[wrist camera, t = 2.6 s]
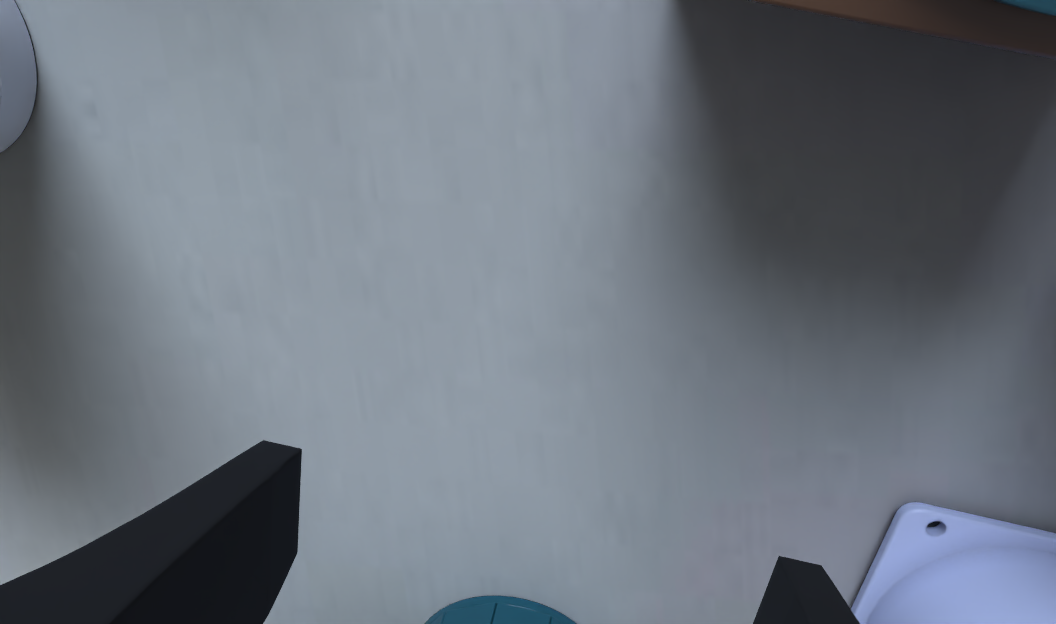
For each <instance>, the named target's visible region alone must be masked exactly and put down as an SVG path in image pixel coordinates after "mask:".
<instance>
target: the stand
mask: <svg viewBox="0 0 1056 624" xmlns="http://www.w3.org/2000/svg"><path fill="white" fill-rule="evenodd" d="M748 1H753V2H758V3H763V4H768V5H774V6H779V7H784V8H789V9H794V10H800V11H805V12H810V13H815V14H820V15H826V16H831V17H836V18H841V19H846V20H852V21H857V22H862V23H867V24H872V25H878V26H883V27H888V28H893V29H899V30H904V31H909V32H914V33H919V34H925V35H930V36H935V37H940V38H945V39H951V40H956V41H961V42H966V43H971V44H977V45H982V46H987V47H992V48H997V49H1003V50H1008V51H1013V52H1018V53H1023V54H1029V55H1034V56H1039V57H1044V58H1049V59H1055V60H1056V16H1053V15H1047V14H1042V13H1037V12H1033V11H1029V10H1026V9H1022V8H1018V7H1014V6H1010V5H1007V4H1003V3H999V2H996V1H994V0H748Z"/></svg>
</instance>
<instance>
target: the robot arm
mask: <svg viewBox="0 0 1056 624" xmlns="http://www.w3.org/2000/svg"><path fill="white" fill-rule="evenodd" d="M301 454H302V449H300V448H295V447H291V446H286V445H282V444H277V443H273V442H268V441H264V440H263V441H261V442H260V443H258V444H256V445H255V446H253V447H251V448H250V449H248V450H247V451H245V452H243V453H242V454H240V455H238V456H237V457H235V458H234V459H232V460H230V461H229V462H227V463H226V464H224V465H222V466H221V467H219V468H218V469H216V470H214V471H213V472H211V473H210V474H208V475H206V476H205V477H203V478H202V479H200V480H198V481H197V482H195V483H194V484H192V485H190V486H189V487H187V488H186V489H184V490H182V491H181V492H179V493H177V494H176V495H174V496H172V497H171V498H169V499H167V500H166V501H164V502H162V503H161V504H159V505H157V506H155V507H154V508H152V509H150V510H149V511H147V512H145V513H144V514H142V515H140V516H138V517H137V518H135V519H133V520H131V521H129V522H127V523H126V524H124V525H122V526H120V527H118V528H116V529H115V530H113V531H111V532H109V533H107V534H105V535H104V536H102V537H100V538H98V539H96V540H94V541H93V542H91V543H89V544H87V545H85V546H83V547H81V548H79V549H77V550H75V551H74V552H72V553H70V554H68V555H66V556H63V557H61V558H59V559H57V560H55V561H53V562H51V563H49V564H47V565H45V566H43V567H40V568H38V569H36V570H34V571H31V572H29V573H27V574H25V575H23V576H20V577H18V578H16V579H14V580H11V581H9V582H7V583H5V584H2V585H0V624H263V622H264V621H265V619H266V618H267V616H268V614H269V612H270V610H271V608H272V606H273V604H274V602H275V600H276V598H277V596H278V594H279V592H280V590H281V588H282V585H283V583H284V581H285V579H286V577H287V574H288V572H289V570H290V568H291V566H292V563H293V561H294V559H295V557H296V555H297V548H298V524H299V501H300V477H301ZM934 521H940V522H941V523H940V524H939V525H937V526H935V527H927V525H928V524H929V523H931V522H934ZM753 624H1056V533H1053V532H1049V531H1044V530H1040V529H1035V528H1031V527H1027V526H1022V525H1018V524H1013V523H1009V522H1005V521H1000V520H996V519H991V518H987V517H983V516H978V515H974V514H969V513H965V512H960V511H956V510H952V509H947V508H943V507H938V506H934V505H930V504H925V503H921V502H911V503H907V504H905V505H903V506H902V507H900V508H899V509H898V511H897V512H896V514H895V516H894V518H893V520H892V522H891V524H890V527H889V529H888V531H887V533H886V535H885V537H884V539H883V541H882V544H881V546H880V548H879V550H878V552H877V554H876V556H875V559H874V561H873V563H872V565H871V567H870V569H869V571H868V573H867V576H866V578H865V580H864V582H863V584H862V586H861V588H860V591H859V593H858V595H857V597H856V599H855V601H854V603H853V605H852V608H851V609H850V608H849V606H848V605H847V603H846V602H845V600H844V599H843V597H842V596H841V594H840V593H839V591H838V590H837V588H836V586H835V585H834V583H833V582H832V580H831V579H830V578H829V576H828V575H827V573H826V572H825V570H824V569H823V567H822V566H821V565H817V564H812V563H808V562H803V561H799V560H794V559H790V558H786V557H781V556H779V557H778V560H777V562H776V565H775V568H774V570H773V573H772V575H771V578H770V581H769V583H768V586H767V588H766V591H765V594H764V596H763V599H762V602H761V604H760V607H759V609H758V612H757V615H756V617H755V620H754V622H753Z"/></svg>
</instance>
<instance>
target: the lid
mask: <svg viewBox="0 0 1056 624" xmlns="http://www.w3.org/2000/svg"><path fill="white" fill-rule="evenodd" d="M994 1H996V2H999V3H1003V4H1007V5H1010V6H1014V7H1018V8H1022V9H1026V10H1029V11H1033V12H1037V13H1042V14H1047V15H1053V16H1056V0H994Z"/></svg>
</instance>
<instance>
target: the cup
mask: <svg viewBox="0 0 1056 624" xmlns="http://www.w3.org/2000/svg"><path fill="white" fill-rule="evenodd" d="M36 86H37V75H36V63H35V56H34V51H33V47H32V43H31V39H30V36H29V33H28V30H27V27H26V25H25V22H24V20H23V17H22V15H21V13H20V11H19V9H18V7H17V5H16V3H15V1H14V0H0V153H1V152H3V151H4V150H5V149H7V148H8V147H9V146H11V145H12V144H13V143H14V142H15V141H16V140H17V138H18V137H19V136H20V135H21V133H22V132H23V130H24V129H25V127H26V125H27V123H28V121H29V119H30V116H31V113H32V110H33V106H34V102H35V96H36Z"/></svg>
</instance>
